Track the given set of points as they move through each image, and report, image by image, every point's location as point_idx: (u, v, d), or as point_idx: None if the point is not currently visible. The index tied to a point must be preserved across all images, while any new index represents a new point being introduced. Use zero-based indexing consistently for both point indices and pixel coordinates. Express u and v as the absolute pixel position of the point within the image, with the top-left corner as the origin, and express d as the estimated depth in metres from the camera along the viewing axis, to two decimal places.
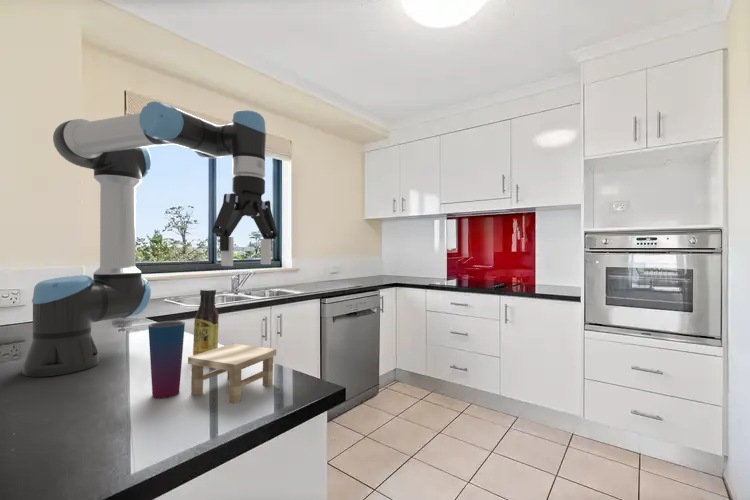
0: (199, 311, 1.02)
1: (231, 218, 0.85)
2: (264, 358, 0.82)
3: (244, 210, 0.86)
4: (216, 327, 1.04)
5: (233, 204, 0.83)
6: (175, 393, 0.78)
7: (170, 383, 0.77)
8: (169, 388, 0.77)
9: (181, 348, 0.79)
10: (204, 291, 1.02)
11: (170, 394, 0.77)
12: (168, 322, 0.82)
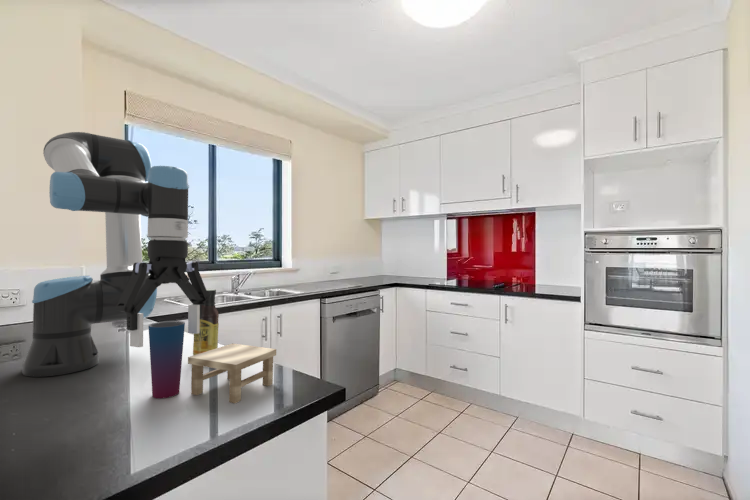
0: None
1: (143, 290, 0.74)
2: (264, 358, 0.82)
3: (159, 280, 0.75)
4: (216, 327, 1.04)
5: (142, 275, 0.73)
6: (175, 393, 0.78)
7: (170, 383, 0.77)
8: (169, 388, 0.77)
9: (181, 348, 0.79)
10: None
11: (170, 394, 0.77)
12: (168, 322, 0.82)
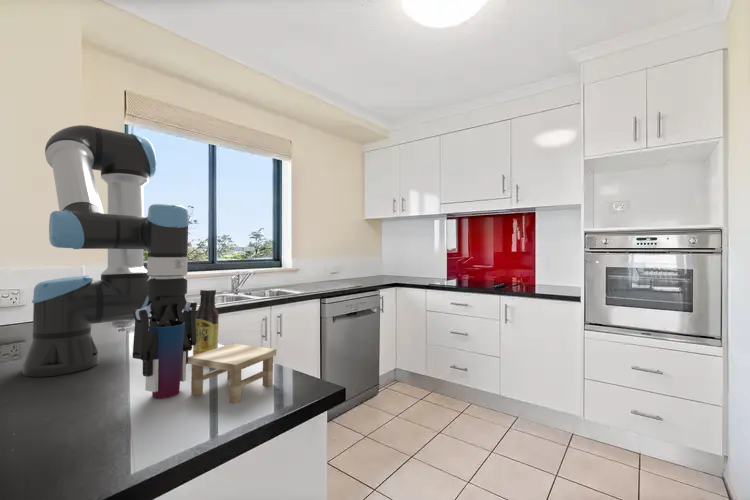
0: (199, 311, 1.02)
1: (150, 335, 0.76)
2: (264, 358, 0.82)
3: (162, 322, 0.76)
4: (216, 327, 1.04)
5: (146, 322, 0.74)
6: (175, 393, 0.78)
7: (171, 383, 0.77)
8: (169, 388, 0.77)
9: (181, 348, 0.79)
10: (204, 291, 1.02)
11: (170, 394, 0.77)
12: (168, 322, 0.82)
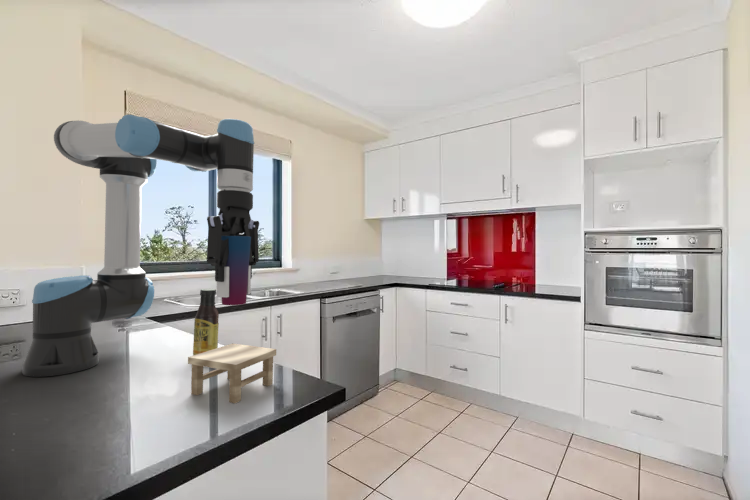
0: (199, 311, 1.02)
1: (221, 243, 0.79)
2: (264, 358, 0.82)
3: (232, 231, 0.80)
4: (216, 327, 1.04)
5: (219, 228, 0.77)
6: (243, 302, 0.82)
7: (240, 291, 0.81)
8: (238, 296, 0.81)
9: (248, 260, 0.83)
10: (204, 291, 1.02)
11: (239, 302, 0.81)
12: None
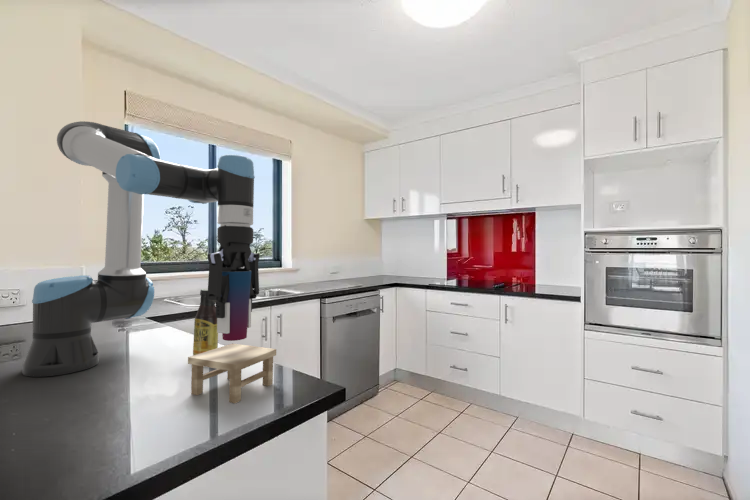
0: (199, 311, 1.02)
1: (222, 279, 0.79)
2: (264, 358, 0.82)
3: (233, 267, 0.80)
4: (216, 327, 1.04)
5: (220, 265, 0.77)
6: (244, 337, 0.82)
7: (240, 326, 0.81)
8: (239, 331, 0.81)
9: (249, 294, 0.83)
10: (204, 291, 1.02)
11: (240, 337, 0.81)
12: None
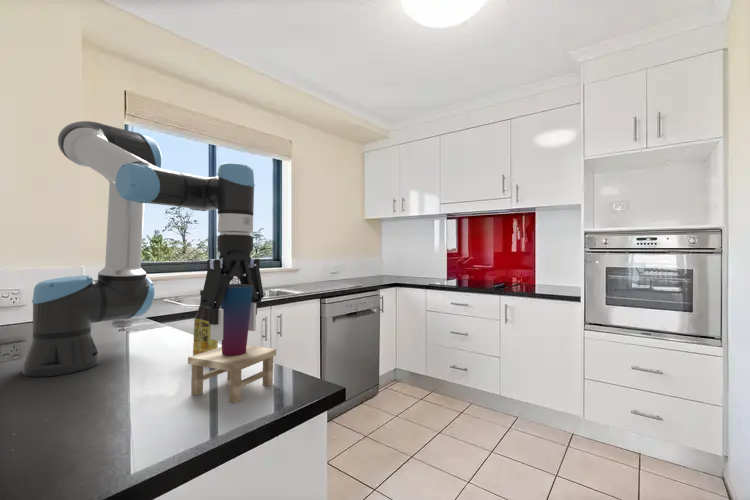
0: (199, 311, 1.02)
1: (218, 286, 0.78)
2: (264, 358, 0.82)
3: (231, 274, 0.79)
4: None
5: (218, 271, 0.77)
6: (243, 352, 0.82)
7: (240, 342, 0.81)
8: (239, 346, 0.81)
9: (249, 309, 0.83)
10: None
11: (239, 352, 0.81)
12: (236, 284, 0.85)
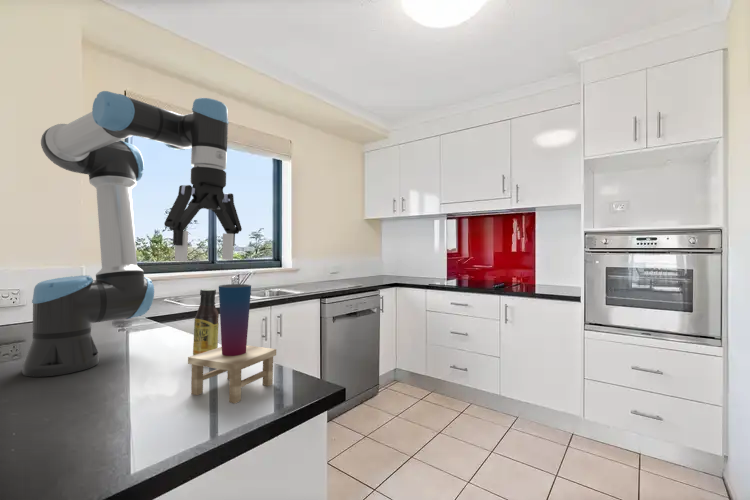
0: (199, 311, 1.02)
1: (187, 211, 0.81)
2: (264, 358, 0.82)
3: (201, 203, 0.82)
4: (216, 327, 1.04)
5: (188, 196, 0.79)
6: (243, 352, 0.82)
7: (240, 342, 0.81)
8: (239, 346, 0.81)
9: (248, 309, 0.83)
10: (204, 291, 1.02)
11: (239, 352, 0.81)
12: (234, 285, 0.85)
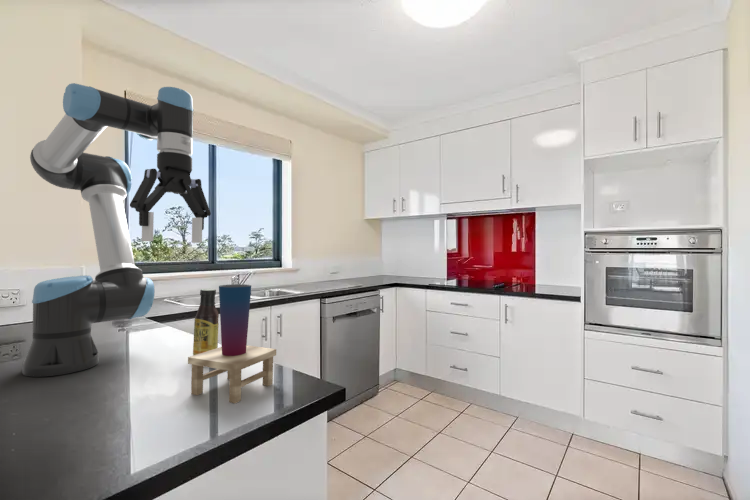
0: (199, 311, 1.02)
1: (153, 194, 0.85)
2: (264, 358, 0.82)
3: (167, 186, 0.86)
4: (216, 327, 1.04)
5: (153, 179, 0.83)
6: (243, 352, 0.82)
7: (240, 342, 0.81)
8: (239, 346, 0.81)
9: (248, 309, 0.83)
10: (204, 291, 1.02)
11: (239, 352, 0.81)
12: (234, 285, 0.85)
